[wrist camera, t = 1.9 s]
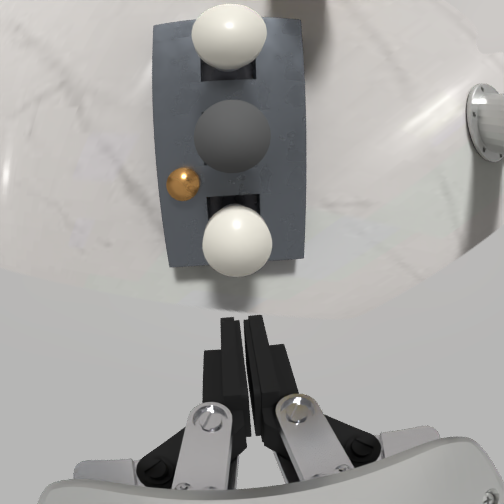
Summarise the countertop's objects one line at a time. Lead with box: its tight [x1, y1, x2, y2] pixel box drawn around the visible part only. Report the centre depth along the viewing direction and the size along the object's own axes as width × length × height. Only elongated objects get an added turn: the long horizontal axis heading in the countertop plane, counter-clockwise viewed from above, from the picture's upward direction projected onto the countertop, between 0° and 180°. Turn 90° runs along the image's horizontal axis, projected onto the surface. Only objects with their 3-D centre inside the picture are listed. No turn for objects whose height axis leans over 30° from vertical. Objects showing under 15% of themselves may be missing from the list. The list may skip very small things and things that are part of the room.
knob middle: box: [194, 100, 271, 173], centre depth 20 cm, size 5×5×6 cm
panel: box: [152, 17, 306, 267], centre depth 24 cm, size 25×14×4 cm, turn 2°
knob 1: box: [192, 4, 267, 72], centre depth 17 cm, size 5×5×6 cm
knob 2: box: [202, 204, 272, 277], centre depth 23 cm, size 5×5×6 cm
